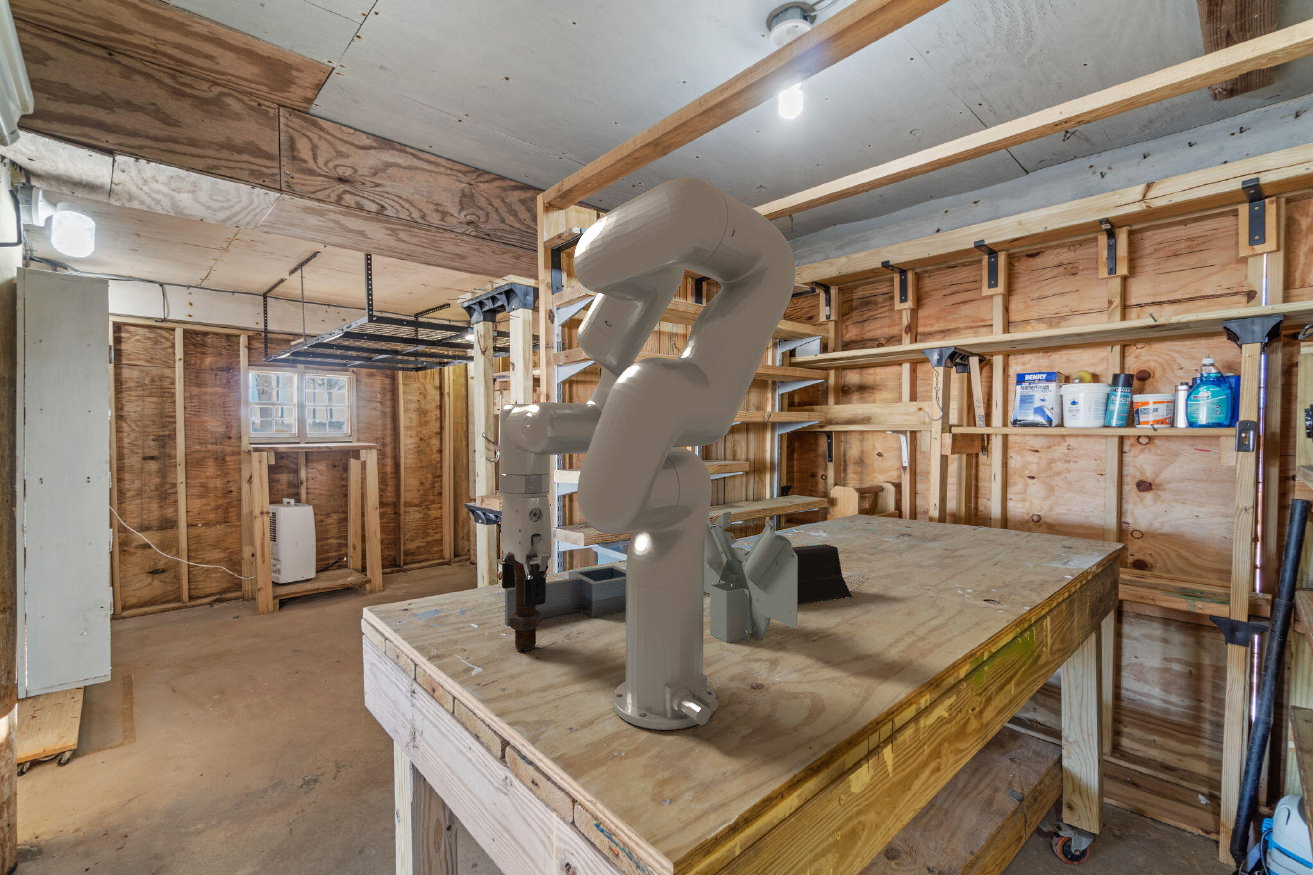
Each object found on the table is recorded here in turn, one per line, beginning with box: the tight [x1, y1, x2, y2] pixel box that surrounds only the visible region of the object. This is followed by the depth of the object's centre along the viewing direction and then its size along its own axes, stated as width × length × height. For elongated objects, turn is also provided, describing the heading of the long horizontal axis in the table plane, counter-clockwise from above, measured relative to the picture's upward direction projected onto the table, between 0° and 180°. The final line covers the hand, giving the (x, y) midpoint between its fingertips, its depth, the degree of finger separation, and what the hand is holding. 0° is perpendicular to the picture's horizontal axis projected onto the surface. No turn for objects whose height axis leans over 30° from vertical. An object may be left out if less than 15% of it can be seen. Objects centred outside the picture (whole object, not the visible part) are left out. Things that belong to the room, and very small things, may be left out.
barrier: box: [744, 543, 853, 606], centre depth 112 cm, size 24×9×10 cm, turn 112°
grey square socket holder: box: [504, 564, 626, 626], centre depth 107 cm, size 10×38×6 cm, turn 124°
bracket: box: [704, 511, 798, 644], centre depth 92 cm, size 28×7×20 cm, turn 33°
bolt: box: [507, 552, 542, 653], centre depth 86 cm, size 6×5×15 cm
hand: (522, 595), depth 86 cm, fingers open, 9 cm apart
